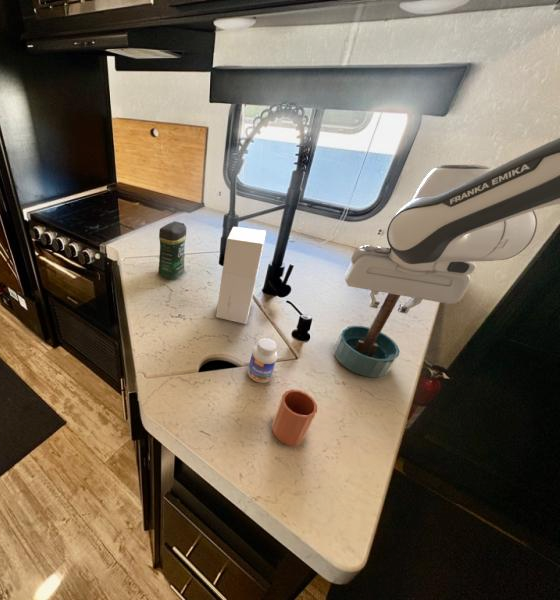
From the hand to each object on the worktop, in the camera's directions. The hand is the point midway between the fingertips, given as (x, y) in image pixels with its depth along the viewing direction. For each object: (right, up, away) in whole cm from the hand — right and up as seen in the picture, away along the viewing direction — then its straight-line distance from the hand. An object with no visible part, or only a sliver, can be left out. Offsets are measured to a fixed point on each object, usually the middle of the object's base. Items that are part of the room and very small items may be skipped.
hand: (386, 308), depth 68 cm
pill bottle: (-26, -16, +5) cm, 31 cm away
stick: (0, -12, +9) cm, 15 cm away
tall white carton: (-28, -2, +25) cm, 38 cm away
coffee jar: (-46, +11, +44) cm, 64 cm away
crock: (-25, -24, -7) cm, 35 cm away
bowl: (0, -13, +9) cm, 16 cm away
